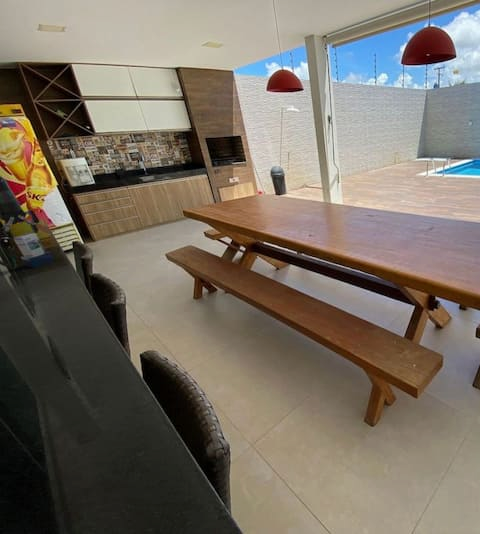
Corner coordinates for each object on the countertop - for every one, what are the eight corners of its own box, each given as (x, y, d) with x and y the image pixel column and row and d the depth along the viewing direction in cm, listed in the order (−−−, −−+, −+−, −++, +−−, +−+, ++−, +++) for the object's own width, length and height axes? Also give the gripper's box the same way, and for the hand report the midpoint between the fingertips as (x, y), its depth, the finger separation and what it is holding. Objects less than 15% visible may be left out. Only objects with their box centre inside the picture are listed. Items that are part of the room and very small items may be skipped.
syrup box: (38, 265, 146) (22, 236, 139) (28, 265, 147) (12, 237, 140) (51, 260, 151) (36, 232, 144) (41, 260, 152) (26, 232, 145)
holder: (34, 268, 144) (28, 258, 142) (26, 266, 147) (20, 256, 145) (55, 261, 151) (50, 252, 148) (46, 259, 154) (41, 250, 151)
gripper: (22, 197, 143) (39, 230, 150) (-22, 204, 131) (-1, 240, 138) (30, 197, 140) (47, 231, 147) (-14, 205, 128) (7, 241, 135)
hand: (24, 235), depth 142 cm, fingers open, 8 cm apart
